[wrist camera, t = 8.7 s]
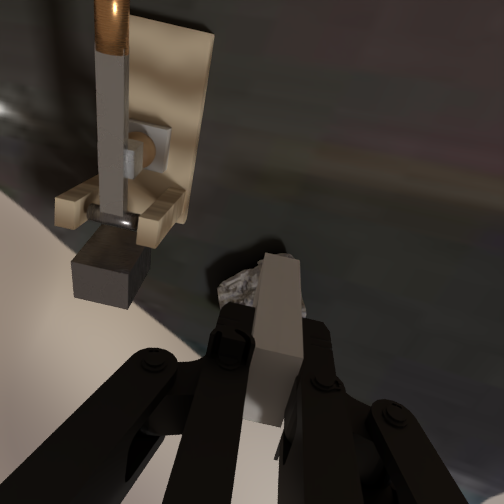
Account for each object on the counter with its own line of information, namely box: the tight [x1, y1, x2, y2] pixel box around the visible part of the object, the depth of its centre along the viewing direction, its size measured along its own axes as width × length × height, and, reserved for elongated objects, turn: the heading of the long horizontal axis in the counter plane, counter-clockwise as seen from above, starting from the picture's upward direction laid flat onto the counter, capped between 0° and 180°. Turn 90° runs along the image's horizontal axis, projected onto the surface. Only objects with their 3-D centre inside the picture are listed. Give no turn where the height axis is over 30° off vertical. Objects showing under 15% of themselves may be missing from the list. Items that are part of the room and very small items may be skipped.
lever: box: [71, 0, 151, 310], centre depth 39 cm, size 32×6×8 cm, turn 168°
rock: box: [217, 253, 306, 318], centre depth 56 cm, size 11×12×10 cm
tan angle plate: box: [55, 15, 215, 249], centre depth 44 cm, size 22×11×13 cm, turn 168°
